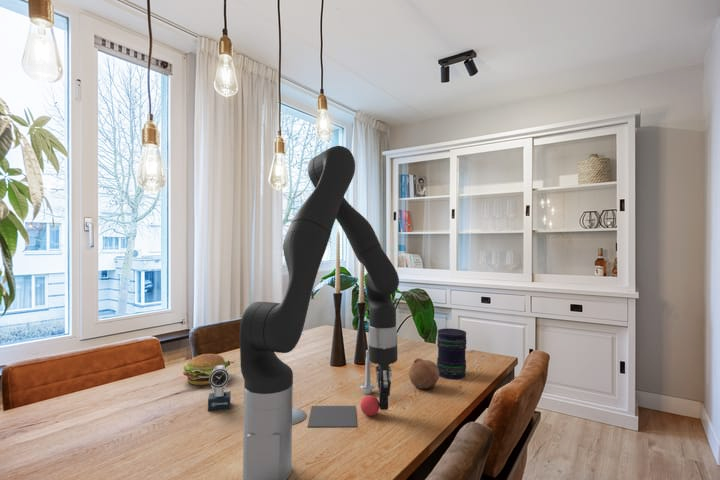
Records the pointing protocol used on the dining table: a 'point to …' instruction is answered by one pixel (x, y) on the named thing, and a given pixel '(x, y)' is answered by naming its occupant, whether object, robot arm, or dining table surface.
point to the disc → (297, 415)
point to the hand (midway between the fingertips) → (383, 408)
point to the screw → (367, 377)
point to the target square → (332, 416)
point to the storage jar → (451, 353)
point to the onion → (423, 374)
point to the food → (203, 368)
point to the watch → (219, 389)
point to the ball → (370, 405)
